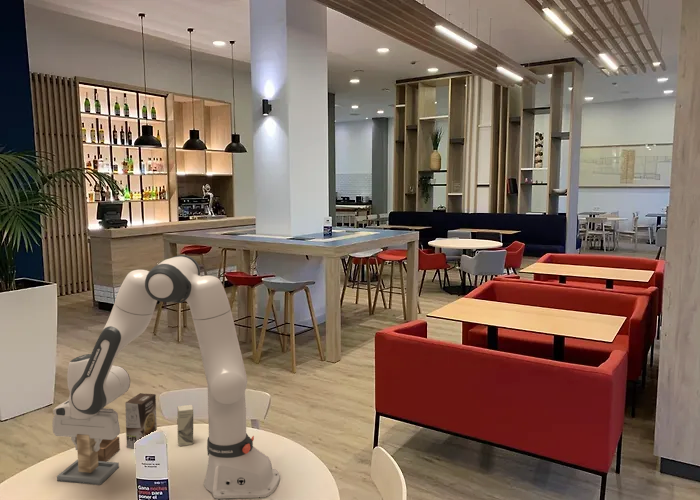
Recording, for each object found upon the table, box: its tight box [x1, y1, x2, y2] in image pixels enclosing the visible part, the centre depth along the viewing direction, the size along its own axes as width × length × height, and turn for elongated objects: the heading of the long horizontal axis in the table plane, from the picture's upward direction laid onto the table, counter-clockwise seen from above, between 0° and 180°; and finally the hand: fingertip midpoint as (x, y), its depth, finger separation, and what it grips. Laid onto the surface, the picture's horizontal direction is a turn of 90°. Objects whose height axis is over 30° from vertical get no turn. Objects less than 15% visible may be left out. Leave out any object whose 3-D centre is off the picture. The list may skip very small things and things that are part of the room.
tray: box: [56, 458, 120, 486], centre depth 165 cm, size 14×10×2 cm
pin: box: [76, 434, 98, 473], centre depth 164 cm, size 4×4×12 cm
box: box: [176, 404, 194, 447], centre depth 185 cm, size 5×4×13 cm
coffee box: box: [124, 392, 158, 449], centre depth 185 cm, size 9×6×16 cm
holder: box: [98, 436, 121, 462], centre depth 177 cm, size 8×8×4 cm
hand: (87, 450), depth 164 cm, fingers closed on pin, 4 cm apart
